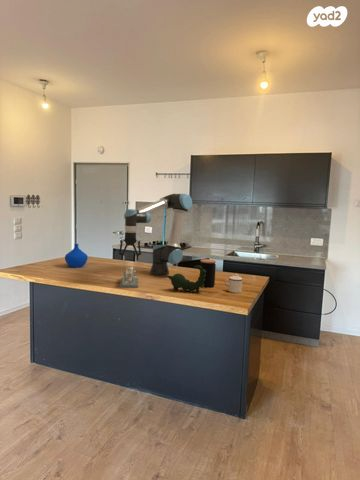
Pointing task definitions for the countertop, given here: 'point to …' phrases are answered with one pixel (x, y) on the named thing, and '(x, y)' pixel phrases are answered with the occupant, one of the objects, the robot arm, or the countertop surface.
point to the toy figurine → (185, 284)
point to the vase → (76, 257)
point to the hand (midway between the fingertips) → (129, 264)
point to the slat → (129, 274)
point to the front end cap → (128, 283)
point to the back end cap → (132, 276)
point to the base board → (129, 285)
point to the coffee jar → (209, 272)
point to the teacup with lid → (235, 284)
